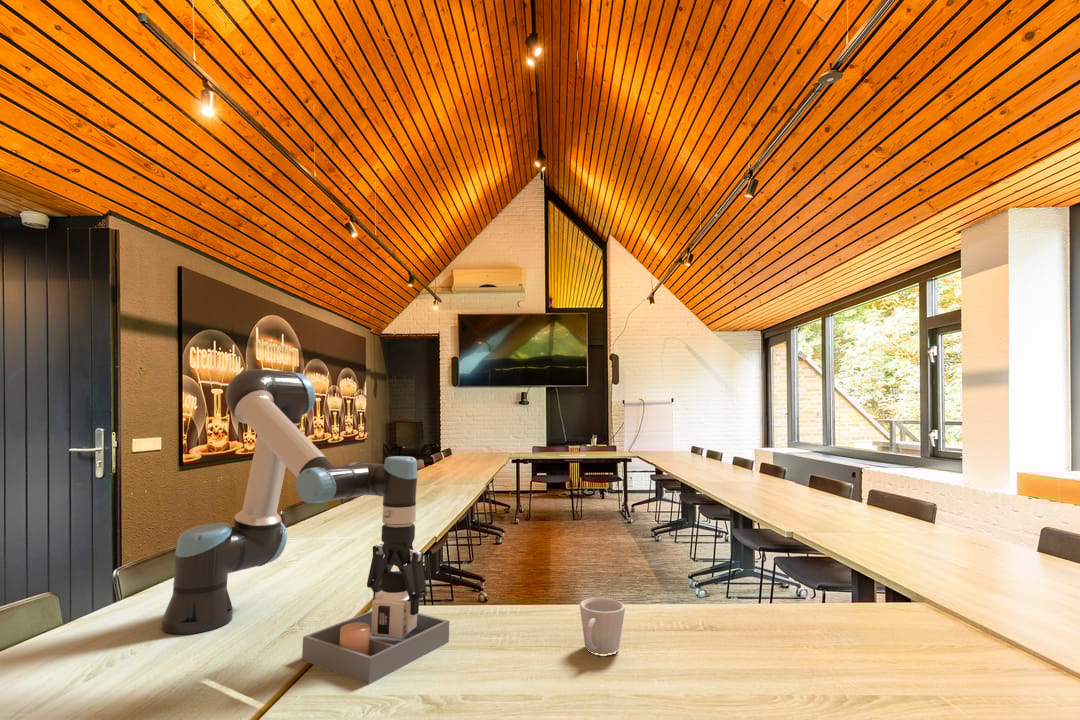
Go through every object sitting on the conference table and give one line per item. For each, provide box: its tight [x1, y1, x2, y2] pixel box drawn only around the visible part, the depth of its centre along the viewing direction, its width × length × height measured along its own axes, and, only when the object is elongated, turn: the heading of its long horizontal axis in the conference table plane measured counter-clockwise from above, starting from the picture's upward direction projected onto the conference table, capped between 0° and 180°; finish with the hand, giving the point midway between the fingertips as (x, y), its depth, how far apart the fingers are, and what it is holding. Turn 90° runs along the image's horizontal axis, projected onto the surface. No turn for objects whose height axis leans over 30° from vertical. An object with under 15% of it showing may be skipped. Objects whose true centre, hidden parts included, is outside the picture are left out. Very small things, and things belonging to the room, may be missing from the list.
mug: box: [579, 597, 626, 654], centre depth 127 cm, size 10×15×10 cm
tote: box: [301, 610, 450, 685], centre depth 124 cm, size 20×24×6 cm
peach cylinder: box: [339, 622, 370, 656], centre depth 118 cm, size 6×6×7 cm
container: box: [371, 569, 417, 639], centre depth 128 cm, size 8×8×13 cm
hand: (394, 624), depth 128 cm, fingers closed on container, 9 cm apart
